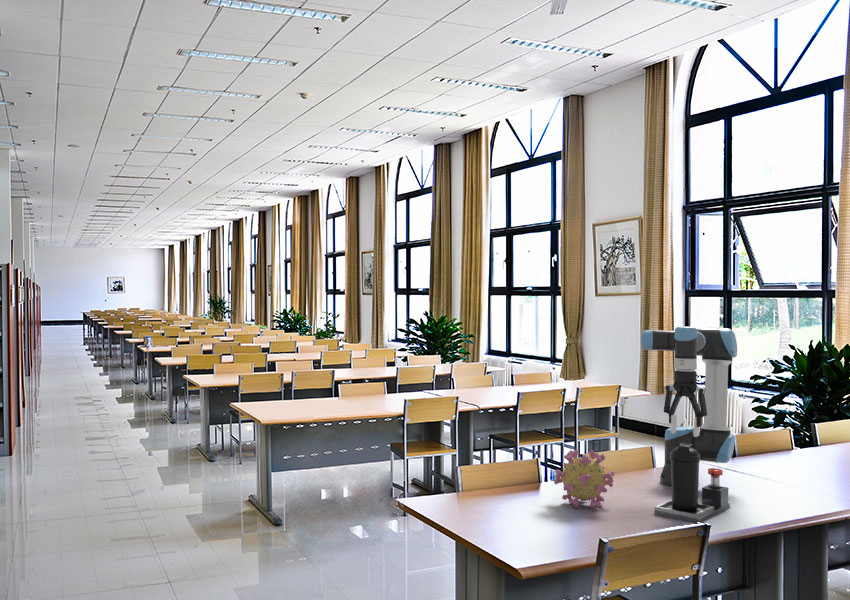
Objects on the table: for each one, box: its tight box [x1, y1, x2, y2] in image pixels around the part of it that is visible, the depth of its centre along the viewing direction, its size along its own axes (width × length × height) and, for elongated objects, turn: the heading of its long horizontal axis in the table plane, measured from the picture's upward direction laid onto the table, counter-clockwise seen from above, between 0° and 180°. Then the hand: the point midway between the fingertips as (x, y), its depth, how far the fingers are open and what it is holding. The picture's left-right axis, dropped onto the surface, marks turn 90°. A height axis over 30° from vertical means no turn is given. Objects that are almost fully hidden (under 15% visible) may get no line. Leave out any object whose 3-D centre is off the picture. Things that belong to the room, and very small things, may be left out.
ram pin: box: [707, 467, 724, 490], centre depth 279 cm, size 5×5×8 cm
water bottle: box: [670, 443, 700, 513], centre depth 271 cm, size 10×10×23 cm
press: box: [653, 483, 731, 524], centre depth 275 cm, size 16×28×8 cm, turn 138°
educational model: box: [552, 448, 616, 509], centre depth 281 cm, size 23×22×20 cm
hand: (684, 434), depth 271 cm, fingers open, 8 cm apart
